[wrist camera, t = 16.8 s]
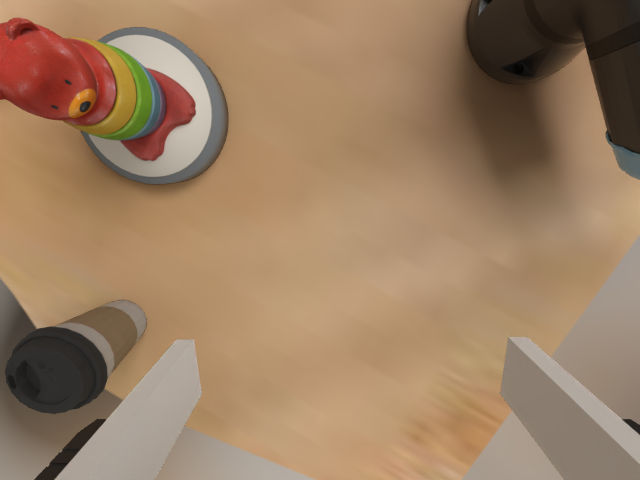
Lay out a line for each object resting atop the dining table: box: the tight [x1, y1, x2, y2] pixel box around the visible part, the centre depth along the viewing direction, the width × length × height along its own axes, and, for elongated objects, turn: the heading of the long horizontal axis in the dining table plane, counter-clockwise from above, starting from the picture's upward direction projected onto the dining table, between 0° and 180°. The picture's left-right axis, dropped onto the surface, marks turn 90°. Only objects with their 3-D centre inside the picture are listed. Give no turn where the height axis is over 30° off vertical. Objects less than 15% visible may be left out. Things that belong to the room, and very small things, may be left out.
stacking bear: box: [0, 18, 196, 161], centre depth 30 cm, size 11×10×18 cm
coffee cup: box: [5, 300, 147, 414], centre depth 43 cm, size 11×11×15 cm
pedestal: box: [81, 27, 228, 184], centre depth 41 cm, size 19×19×4 cm
